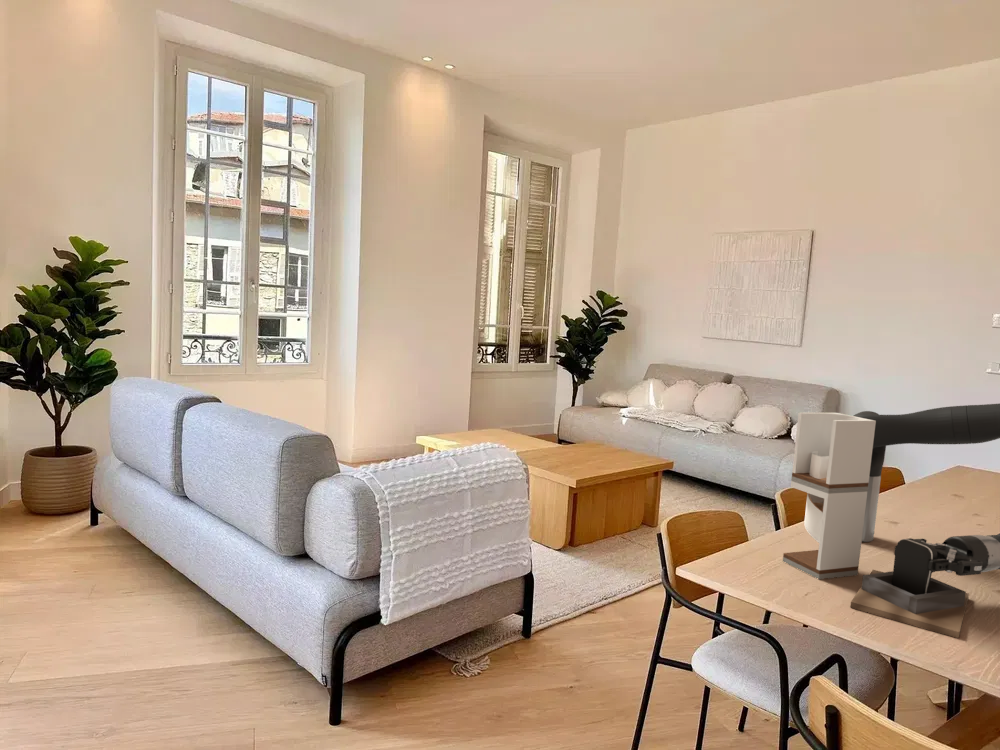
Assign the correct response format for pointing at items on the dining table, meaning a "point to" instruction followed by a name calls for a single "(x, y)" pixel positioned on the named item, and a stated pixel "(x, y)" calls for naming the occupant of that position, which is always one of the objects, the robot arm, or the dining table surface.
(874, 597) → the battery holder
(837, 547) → the white shelf stand
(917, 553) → the battery charger
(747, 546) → the dining table surface
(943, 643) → the dining table surface
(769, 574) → the dining table surface
